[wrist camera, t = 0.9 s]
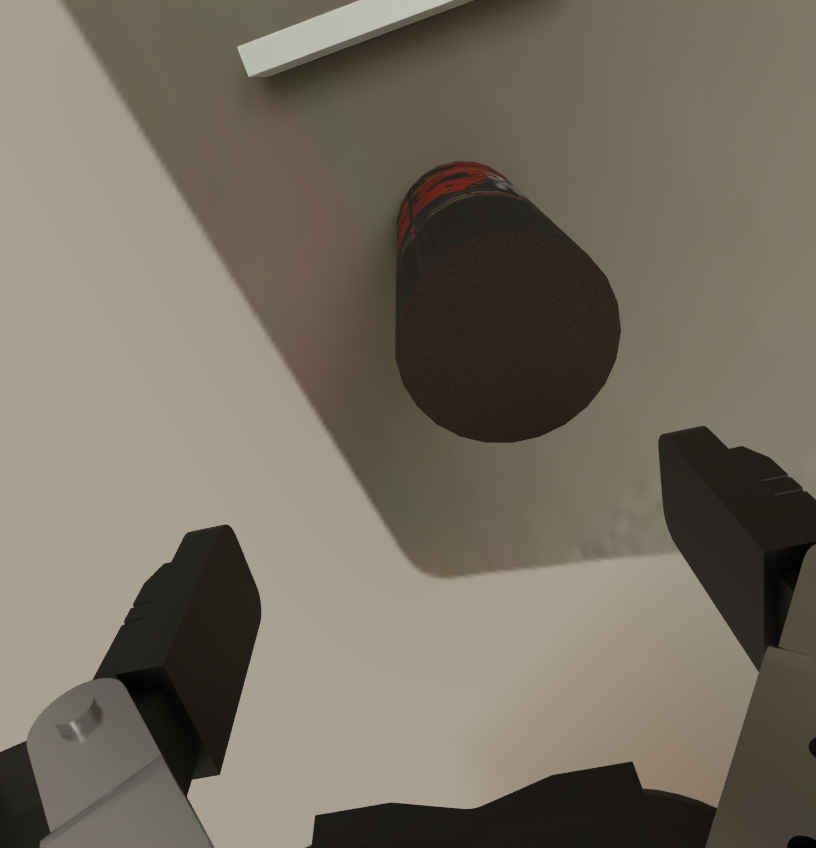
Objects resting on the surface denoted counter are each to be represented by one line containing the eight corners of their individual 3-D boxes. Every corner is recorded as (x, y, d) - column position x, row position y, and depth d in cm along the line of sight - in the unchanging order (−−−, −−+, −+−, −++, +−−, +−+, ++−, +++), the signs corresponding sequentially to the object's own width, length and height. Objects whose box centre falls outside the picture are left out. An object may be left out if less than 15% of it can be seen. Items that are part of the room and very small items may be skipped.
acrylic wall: (258, 50, 27) (236, 46, 24) (568, -67, 26) (595, -91, 22) (267, 77, 28) (248, 77, 24) (573, -37, 26) (601, -56, 23)
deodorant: (537, 171, 30) (650, 246, 16) (510, 299, 32) (587, 454, 19) (406, 151, 29) (411, 212, 16) (389, 283, 32) (381, 430, 19)
